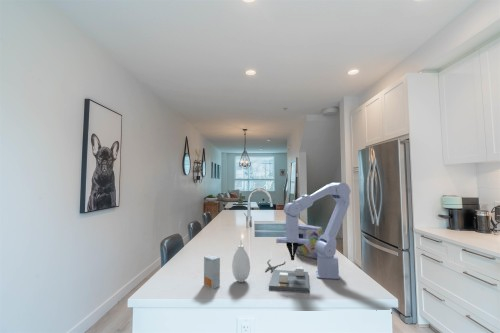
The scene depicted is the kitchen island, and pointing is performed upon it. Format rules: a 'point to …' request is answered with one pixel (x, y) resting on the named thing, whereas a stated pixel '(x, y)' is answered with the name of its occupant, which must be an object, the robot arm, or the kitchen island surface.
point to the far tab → (299, 271)
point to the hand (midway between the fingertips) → (292, 259)
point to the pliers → (272, 267)
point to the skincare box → (212, 271)
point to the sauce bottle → (241, 264)
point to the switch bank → (289, 282)
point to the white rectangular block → (283, 277)
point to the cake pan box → (311, 234)
